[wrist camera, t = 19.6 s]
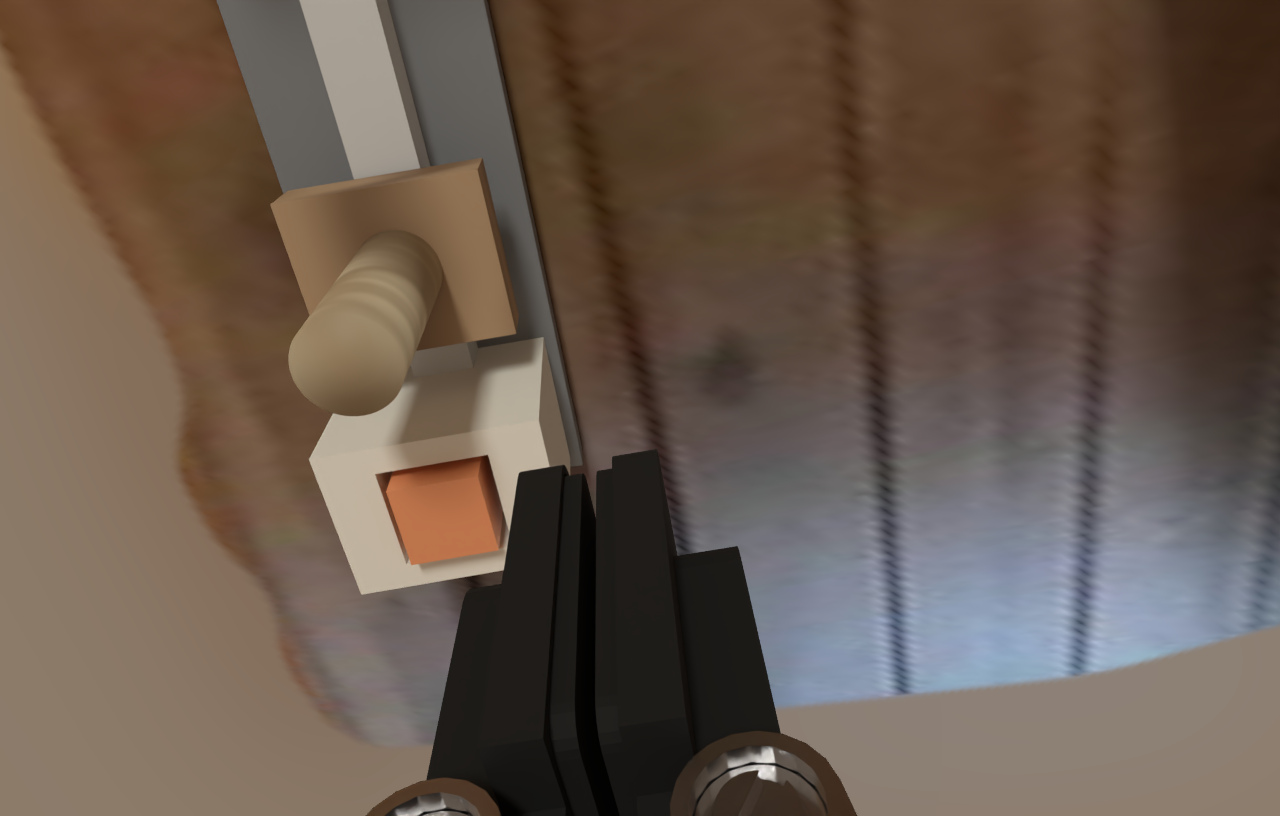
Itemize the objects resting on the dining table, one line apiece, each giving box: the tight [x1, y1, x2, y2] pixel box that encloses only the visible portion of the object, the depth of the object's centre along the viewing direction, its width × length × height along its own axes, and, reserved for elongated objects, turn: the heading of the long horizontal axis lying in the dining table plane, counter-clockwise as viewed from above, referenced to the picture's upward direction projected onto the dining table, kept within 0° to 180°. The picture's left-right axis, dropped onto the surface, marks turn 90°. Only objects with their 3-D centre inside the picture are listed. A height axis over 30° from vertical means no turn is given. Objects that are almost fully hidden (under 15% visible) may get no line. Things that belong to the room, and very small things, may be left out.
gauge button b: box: [386, 455, 503, 565], centre depth 32 cm, size 3×3×4 cm
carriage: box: [270, 158, 519, 416], centre depth 27 cm, size 7×6×10 cm
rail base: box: [217, 0, 583, 595], centre depth 28 cm, size 9×36×9 cm, turn 9°
